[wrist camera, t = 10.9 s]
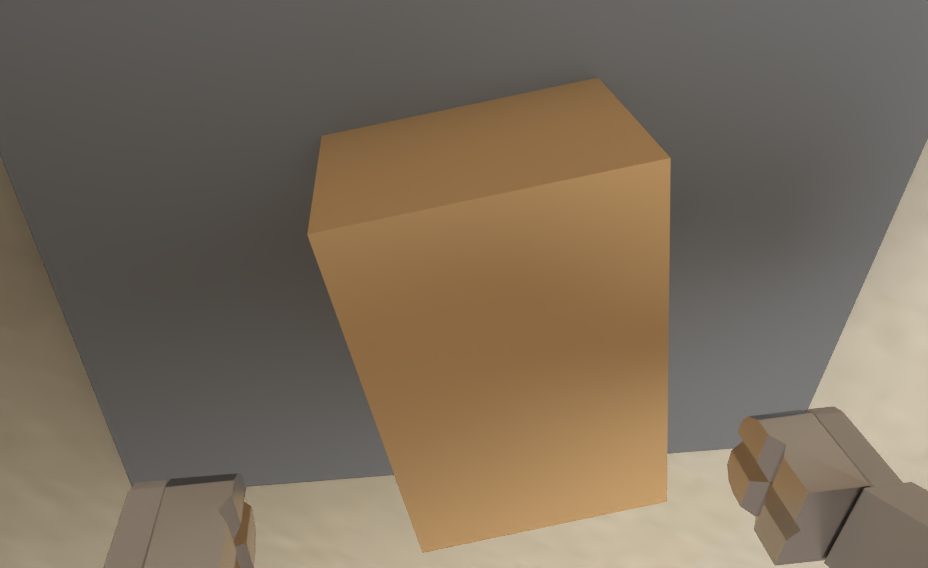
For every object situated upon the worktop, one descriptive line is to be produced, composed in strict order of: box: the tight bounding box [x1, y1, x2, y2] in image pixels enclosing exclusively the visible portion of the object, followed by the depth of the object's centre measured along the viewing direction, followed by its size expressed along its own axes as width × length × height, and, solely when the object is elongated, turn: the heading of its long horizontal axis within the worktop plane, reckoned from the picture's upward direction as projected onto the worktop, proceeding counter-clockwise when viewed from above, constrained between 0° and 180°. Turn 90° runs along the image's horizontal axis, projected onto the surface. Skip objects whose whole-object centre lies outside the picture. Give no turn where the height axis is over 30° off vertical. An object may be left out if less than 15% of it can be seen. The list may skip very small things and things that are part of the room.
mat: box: [0, 0, 928, 487], centre depth 16 cm, size 20×14×1 cm
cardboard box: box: [307, 78, 671, 553], centre depth 15 cm, size 9×6×4 cm, turn 10°
